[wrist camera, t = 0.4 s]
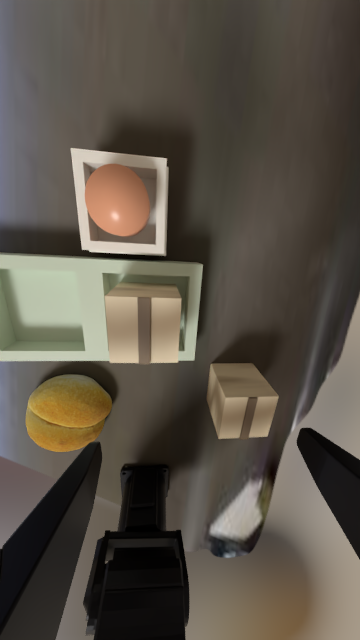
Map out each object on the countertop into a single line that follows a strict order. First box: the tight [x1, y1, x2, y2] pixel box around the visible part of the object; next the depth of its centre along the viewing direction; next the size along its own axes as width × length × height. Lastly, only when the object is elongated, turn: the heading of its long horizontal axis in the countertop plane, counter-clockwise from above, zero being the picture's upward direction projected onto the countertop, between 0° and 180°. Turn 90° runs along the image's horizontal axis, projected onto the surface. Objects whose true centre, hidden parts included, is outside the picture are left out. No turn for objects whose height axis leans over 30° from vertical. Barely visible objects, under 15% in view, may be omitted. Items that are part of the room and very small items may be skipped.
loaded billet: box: [105, 282, 182, 364], centre depth 16 cm, size 5×5×6 cm
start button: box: [85, 164, 150, 237], centre depth 12 cm, size 4×4×2 cm
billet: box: [206, 363, 279, 440], centre depth 21 cm, size 5×5×6 cm
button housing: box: [71, 148, 169, 256], centre depth 15 cm, size 6×6×4 cm
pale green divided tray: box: [0, 252, 203, 361], centre depth 18 cm, size 9×18×2 cm, turn 87°
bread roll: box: [26, 374, 112, 452], centre depth 21 cm, size 8×9×4 cm
